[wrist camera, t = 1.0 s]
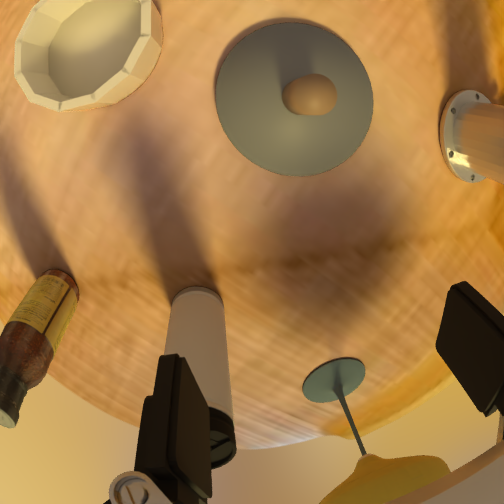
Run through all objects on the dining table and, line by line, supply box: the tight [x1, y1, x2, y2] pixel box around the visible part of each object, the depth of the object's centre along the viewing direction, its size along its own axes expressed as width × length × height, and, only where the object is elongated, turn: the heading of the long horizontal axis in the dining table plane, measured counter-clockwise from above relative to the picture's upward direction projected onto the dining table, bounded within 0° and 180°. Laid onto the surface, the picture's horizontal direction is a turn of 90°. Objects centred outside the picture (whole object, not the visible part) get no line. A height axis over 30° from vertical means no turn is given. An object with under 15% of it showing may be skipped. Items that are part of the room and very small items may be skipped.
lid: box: [216, 23, 373, 176], centre depth 25 cm, size 16×16×6 cm
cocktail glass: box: [303, 359, 451, 504], centre depth 35 cm, size 18×18×25 cm
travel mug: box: [164, 286, 237, 470], centre depth 27 cm, size 6×7×20 cm
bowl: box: [14, 0, 163, 112], centre depth 19 cm, size 13×13×6 cm
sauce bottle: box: [0, 269, 79, 428], centre depth 24 cm, size 6×6×20 cm
